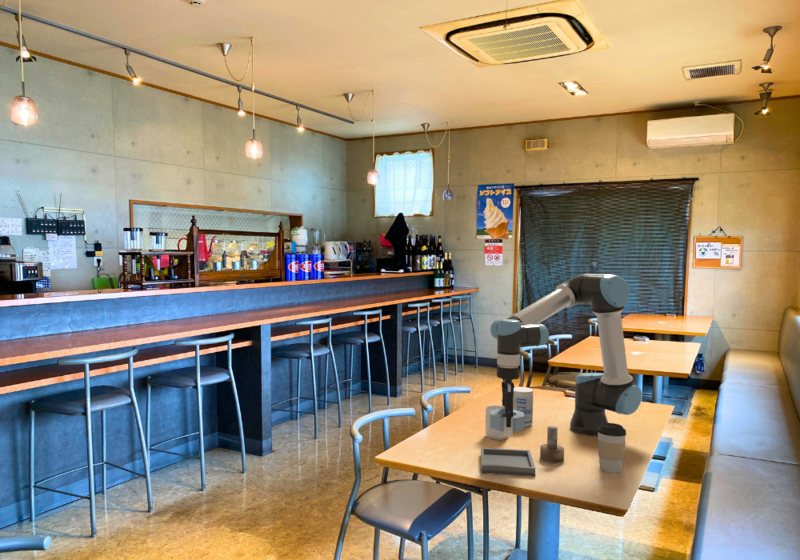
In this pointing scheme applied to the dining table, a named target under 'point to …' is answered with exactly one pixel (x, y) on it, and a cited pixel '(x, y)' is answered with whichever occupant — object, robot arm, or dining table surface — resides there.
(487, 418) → the mug
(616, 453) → the coffee cup
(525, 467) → the tray
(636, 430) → the dining table surface
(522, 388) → the supplement tub
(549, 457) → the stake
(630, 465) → the dining table surface
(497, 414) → the ring
